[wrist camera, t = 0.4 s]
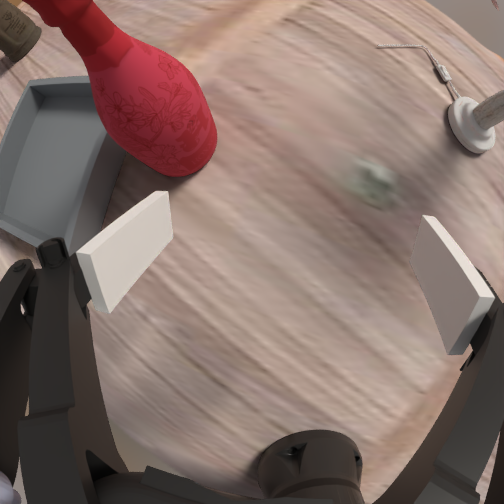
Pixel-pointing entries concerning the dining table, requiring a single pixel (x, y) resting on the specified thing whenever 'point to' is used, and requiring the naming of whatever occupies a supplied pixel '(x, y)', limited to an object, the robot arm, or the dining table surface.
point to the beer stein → (16, 31)
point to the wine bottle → (137, 90)
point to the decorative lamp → (472, 114)
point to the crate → (57, 164)
